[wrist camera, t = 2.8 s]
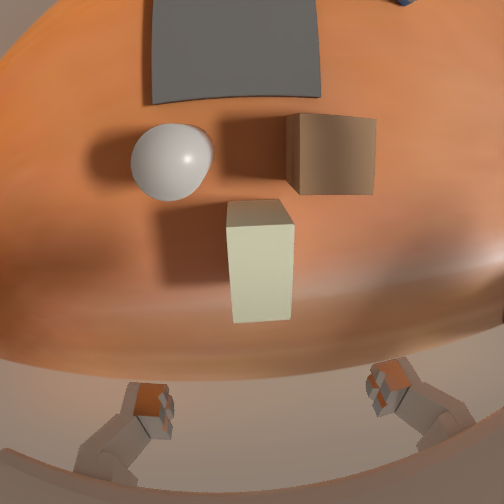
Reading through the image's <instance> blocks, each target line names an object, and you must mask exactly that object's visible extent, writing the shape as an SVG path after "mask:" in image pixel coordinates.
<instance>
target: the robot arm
mask: <svg viewBox="0 0 504 504" xmlns="http://www.w3.org/2000/svg"><path fill="white" fill-rule="evenodd" d="M370 371H371V373H372V374H371V375H369V376H368V378H367V381H366V391H367V394H368V396H369V398H371V399H372V400H374V403H373V408H374V410H375V412H376V415H377V417H380V416H384V415H388V414H392V413H395V414H396V415H398V416H399V417H400V418H401V419H403V420H404V421H405V422H406V423H408V424H409V425H410V426H411V427H413V428H414V429H415V430H417V431H418V432H419V433H421V434H422V435H423V437H422V438H421V439H420V440H419V442H418V443H417V445H416V447H417V449H418V451H419V452H418V453H415V454H413V455H410V456H408V457H405V458H403V459H400V460H397V461H395V462H392V463H389V464H386V465H383V466H380V467H377V468H374V469H370V470H367V471H364V472H360V473H357V474H353V475H349V476H345V477H341V478H337V479H333V480H329V481H323V482H318V483H313V484H308V485H302V486H296V487H289V488H282V489H273V490H262V491H249V492H224V493H208V492H206V493H205V492H183V491H170V490H159V489H151V488H144V487H137V482H138V479H137V477H136V476H135V475H134V474H132V472H130V471H129V470H128V467H129V466H130V465H131V464H132V463H133V462H134V460H135V459H136V458H137V457H138V455H139V454H140V453H141V452H142V451H143V449H144V448H145V447H146V446H147V445H148V443H149V442H150V441H151V439H160V440H171V437H172V427H173V426H172V424H171V422H170V420H172V418H174V402H173V399H172V396H170V395H169V394H168V393H169V388H168V386H167V384H150V383H137V382H130V383H129V384H128V386H127V389H126V393H125V397H124V400H123V404H122V408H121V411H120V414H116V415H115V416H114V417H112V418H111V419H110V420H109V421H108V422H107V423H106V424H105V425H103V426H102V427H101V428H100V429H99V430H98V431H97V432H95V433H94V434H93V435H92V436H91V437H90V438H89V439H88V440H86V441H85V442H84V443H83V444H82V445H81V446H80V448H79V451H78V455H77V459H76V462H75V466H74V470H73V472H70V471H67V470H64V469H61V468H58V467H55V466H52V465H50V464H47V463H44V462H41V461H39V460H36V459H33V458H31V457H29V456H26V455H24V454H22V453H19V452H17V451H15V450H12V449H9V448H3V449H2V450H0V504H504V406H503V407H502V408H500V409H499V410H497V411H496V412H494V413H492V414H491V415H489V416H488V417H486V418H484V419H483V420H481V421H479V422H478V423H476V422H475V420H474V418H473V417H472V415H471V413H470V412H469V410H468V409H467V407H466V405H465V404H464V403H463V402H461V401H459V400H457V399H455V398H454V397H452V396H450V395H448V394H446V393H444V392H442V391H441V390H439V389H437V388H435V387H433V386H431V385H430V384H428V383H426V382H423V383H422V381H421V380H420V378H419V377H418V375H417V373H416V372H415V370H414V369H413V367H412V365H411V364H410V362H409V361H408V359H407V358H406V357H401V358H398V359H392V360H389V361H385V362H380V363H376V364H373V365H372V367H371V370H370Z"/></svg>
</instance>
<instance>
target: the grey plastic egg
mask: <svg viewBox="0 0 504 504" xmlns="http://www.w3.org/2000/svg"><path fill="white" fill-rule="evenodd" d="M213 159H214V146H213V142H212V140H211V138H210V136H209V135H208V134H207V133H206V132H205V131H204V130H203V129H201V128H199V127H197V126H194V125H189V124H162V125H158V126H155V127H153V128H151V129H150V130H148V131H147V132H145V133H144V134H143V135H142V136H141V137H140V138H139V140H138V141H137V143H136V144H135V146H134V149H133V152H132V156H131V171H132V175H133V178H134V180H135V182H136V184H137V185H138V186H139V188H140V189H141V190H142V191H143V192H144V193H146V194H147V195H148V196H150V197H152V198H154V199H157V200H161V201H176V200H179V199H182V198H185V197H187V196H188V195H190V194H191V193H193V192H194V191H195V190H196V189H197V188H198V186H199V185H200V184H201V182H202V180H203V179H204V177H205V175H206V173H207V172H208V170H209V168H210V166H211V164H212V162H213Z"/></svg>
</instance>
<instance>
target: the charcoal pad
mask: <svg viewBox="0 0 504 504" xmlns="http://www.w3.org/2000/svg"><path fill="white" fill-rule="evenodd" d="M232 97H304V98H320V97H321V77H320V55H319V39H318V25H317V13H316V3H315V0H153V16H152V102H153V104H154V105H159V104H166V103H174V102H182V101H191V100H202V99H215V98H232Z"/></svg>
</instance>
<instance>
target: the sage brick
mask: <svg viewBox="0 0 504 504" xmlns="http://www.w3.org/2000/svg"><path fill="white" fill-rule="evenodd" d="M294 226H295V224H294V222H293V221H292V219H291V217H290V216H289V214H288V212H287V211H286V209H285V208H284V206H283V204H282V203H281V201H280V199H269V200H244V201H228V205H227V220H226V234H227V249H228V263H229V276H230V289H231V302H232V314H233V323H248V322H264V321H277V320H290V319H291V303H292V283H293V258H294Z"/></svg>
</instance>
